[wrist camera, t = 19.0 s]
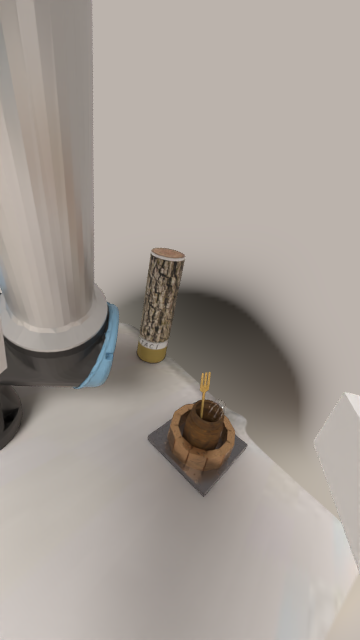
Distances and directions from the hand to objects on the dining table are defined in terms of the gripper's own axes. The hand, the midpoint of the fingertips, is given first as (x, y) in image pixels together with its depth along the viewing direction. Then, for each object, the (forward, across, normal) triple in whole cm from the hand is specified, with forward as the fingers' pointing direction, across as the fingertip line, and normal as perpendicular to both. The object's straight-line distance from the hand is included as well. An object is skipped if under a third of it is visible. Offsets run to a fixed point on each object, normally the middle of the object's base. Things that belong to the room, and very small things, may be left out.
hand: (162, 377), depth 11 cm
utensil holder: (+24, +7, -31) cm, 40 cm away
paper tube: (+45, -6, -32) cm, 56 cm away
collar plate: (+24, +7, -32) cm, 40 cm away
